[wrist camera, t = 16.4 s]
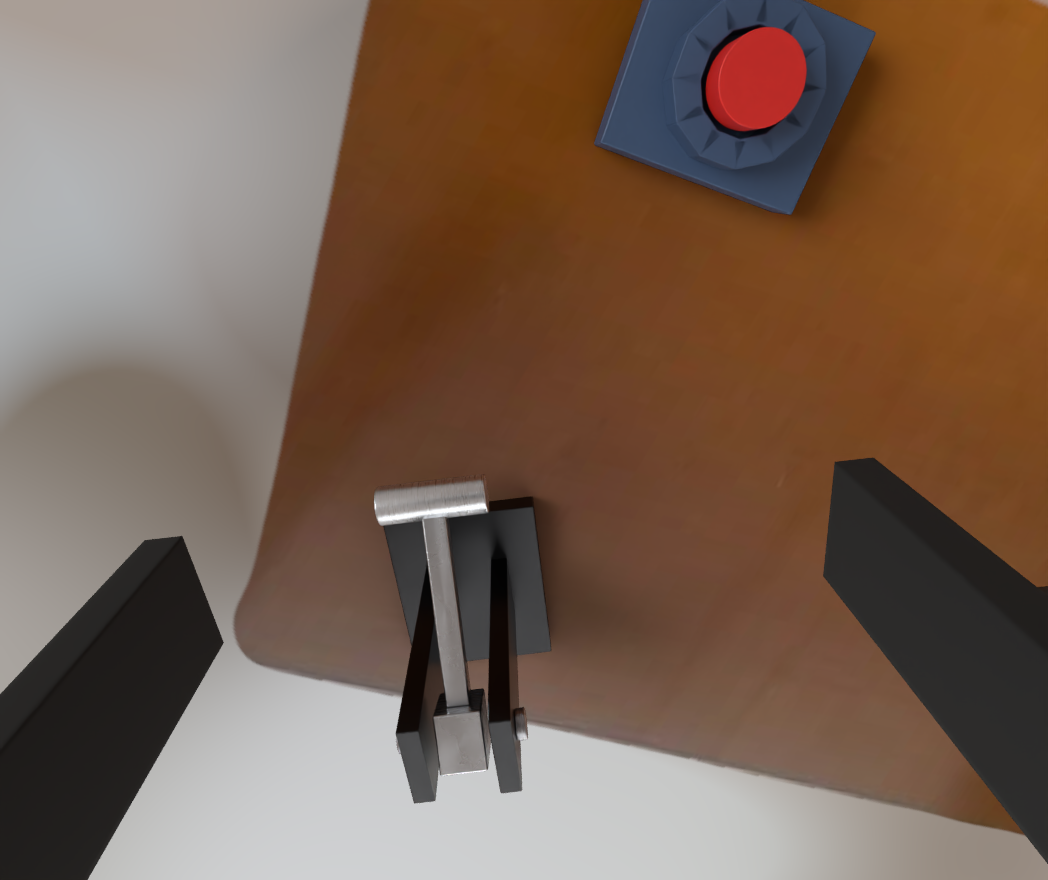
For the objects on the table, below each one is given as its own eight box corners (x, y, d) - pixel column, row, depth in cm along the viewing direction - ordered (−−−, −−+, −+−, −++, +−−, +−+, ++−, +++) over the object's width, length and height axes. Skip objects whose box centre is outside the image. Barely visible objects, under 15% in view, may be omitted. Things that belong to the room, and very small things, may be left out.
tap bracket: (386, 513, 39) (331, 680, 26) (532, 496, 38) (549, 655, 26) (418, 653, 43) (385, 856, 30) (550, 638, 43) (571, 834, 30)
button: (691, 114, 27) (703, 110, 26) (727, 21, 26) (742, 11, 24) (765, 143, 28) (781, 141, 26) (803, 54, 27) (823, 46, 25)
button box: (593, 144, 31) (606, 141, 27) (657, -43, 28) (681, -76, 24) (773, 212, 33) (808, 217, 29) (851, 41, 30) (901, 23, 26)
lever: (382, 483, 30) (369, 490, 28) (486, 471, 30) (482, 477, 28) (418, 751, 31) (409, 780, 29) (519, 739, 31) (518, 768, 28)
